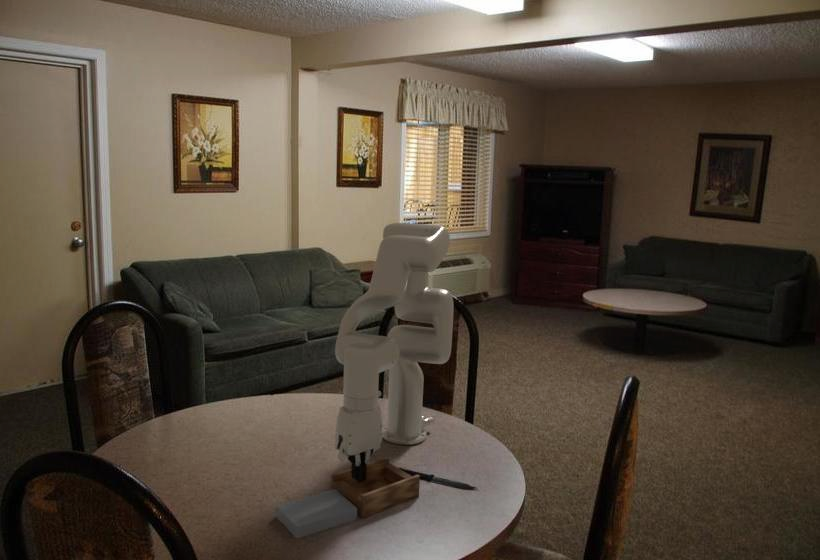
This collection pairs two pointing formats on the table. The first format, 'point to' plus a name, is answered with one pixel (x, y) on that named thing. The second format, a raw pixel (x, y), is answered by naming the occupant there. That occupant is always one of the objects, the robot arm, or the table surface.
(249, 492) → the table surface
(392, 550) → the table surface
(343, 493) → the walnut box
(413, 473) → the knife
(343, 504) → the cover plate
